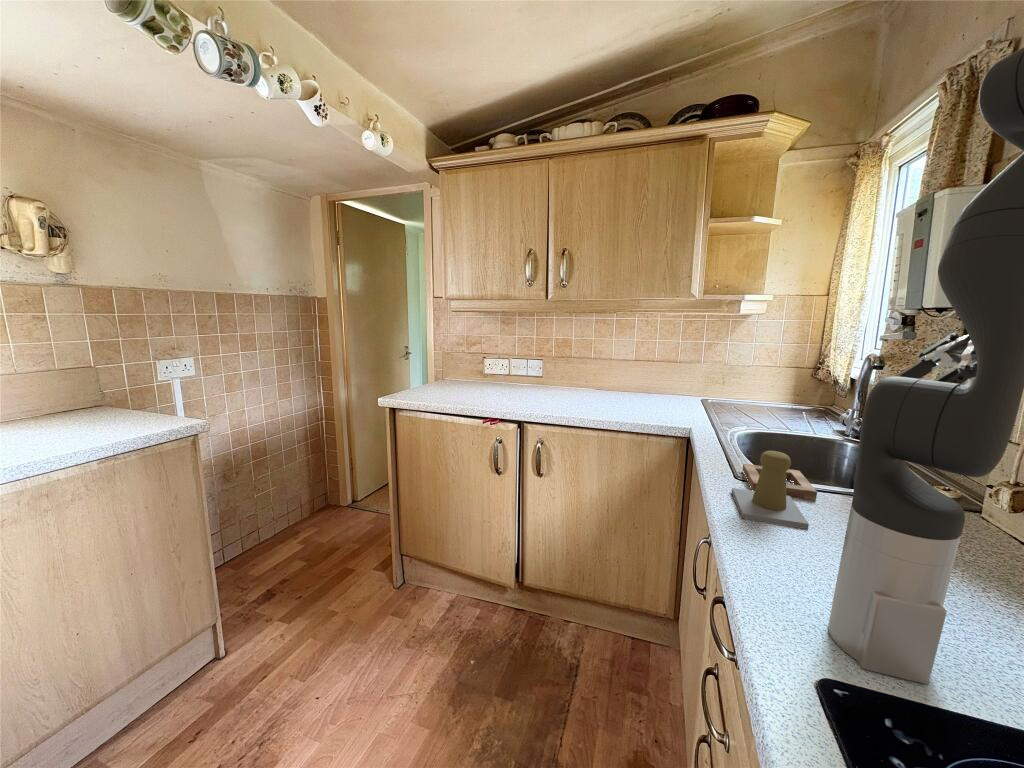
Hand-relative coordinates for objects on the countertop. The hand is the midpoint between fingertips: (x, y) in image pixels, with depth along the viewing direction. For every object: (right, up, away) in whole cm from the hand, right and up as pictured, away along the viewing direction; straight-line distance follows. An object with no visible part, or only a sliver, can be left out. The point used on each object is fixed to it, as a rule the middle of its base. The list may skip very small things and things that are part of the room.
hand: (918, 384), depth 67 cm
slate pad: (-14, -25, +17) cm, 34 cm away
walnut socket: (-5, -23, +29) cm, 37 cm away
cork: (-13, -25, +18) cm, 33 cm away
